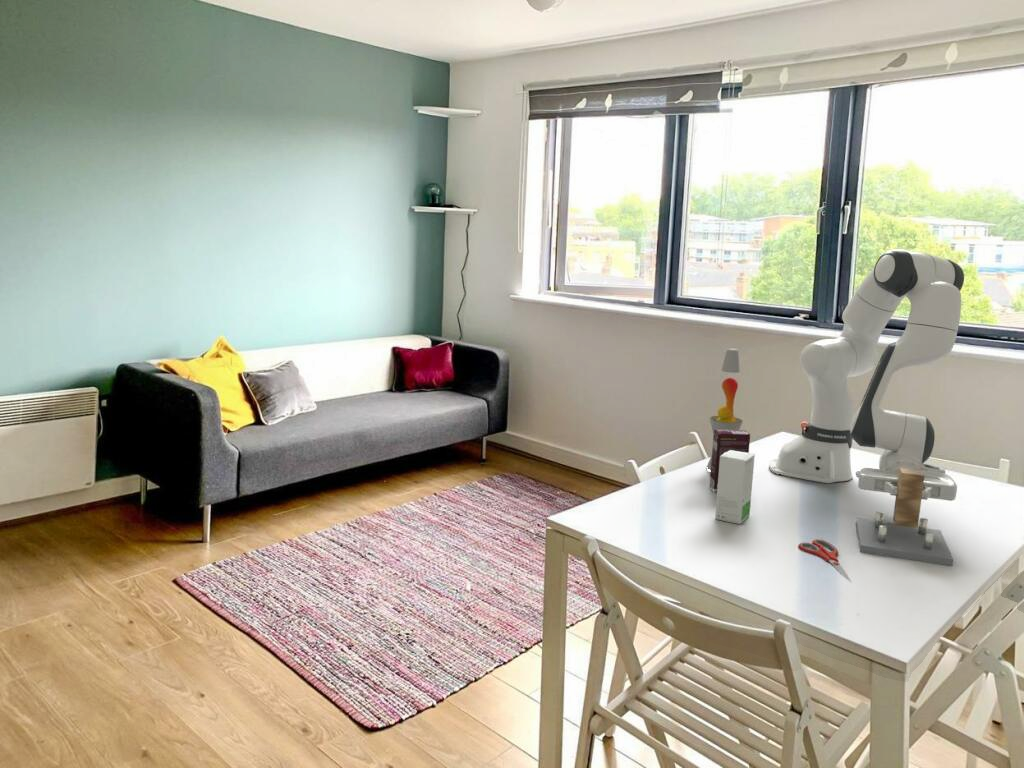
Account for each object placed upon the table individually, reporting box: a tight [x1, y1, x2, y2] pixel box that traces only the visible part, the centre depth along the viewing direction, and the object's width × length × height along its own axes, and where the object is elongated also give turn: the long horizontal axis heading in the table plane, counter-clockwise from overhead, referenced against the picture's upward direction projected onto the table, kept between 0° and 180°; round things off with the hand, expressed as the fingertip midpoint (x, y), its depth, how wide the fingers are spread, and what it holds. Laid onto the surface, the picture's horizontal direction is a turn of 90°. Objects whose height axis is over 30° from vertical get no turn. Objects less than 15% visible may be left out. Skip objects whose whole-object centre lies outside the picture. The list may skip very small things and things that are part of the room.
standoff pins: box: [874, 511, 934, 550], centre depth 183 cm, size 11×11×4 cm
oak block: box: [892, 468, 925, 528], centre depth 182 cm, size 4×4×12 cm
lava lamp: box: [706, 348, 743, 470], centre depth 230 cm, size 9×9×35 cm
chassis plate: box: [855, 518, 954, 567], centre depth 184 cm, size 18×18×2 cm
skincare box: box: [714, 450, 756, 525], centre depth 195 cm, size 8×7×16 cm
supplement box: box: [709, 429, 751, 492], centre depth 216 cm, size 9×5×16 cm, turn 92°
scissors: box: [797, 538, 853, 584], centre depth 172 cm, size 8×21×2 cm, turn 13°
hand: (909, 494), depth 181 cm, fingers closed on oak block, 4 cm apart
